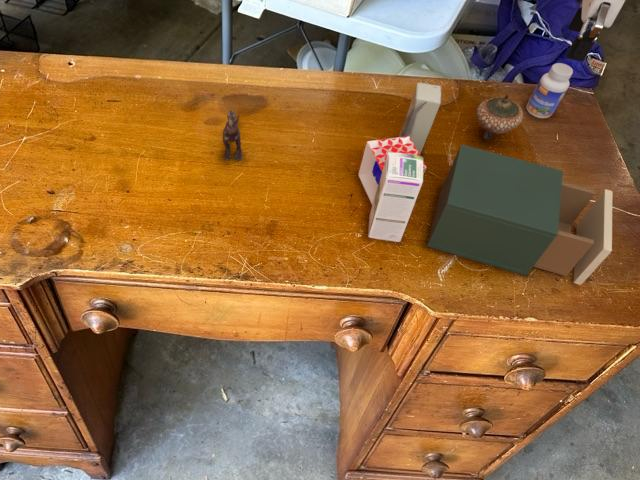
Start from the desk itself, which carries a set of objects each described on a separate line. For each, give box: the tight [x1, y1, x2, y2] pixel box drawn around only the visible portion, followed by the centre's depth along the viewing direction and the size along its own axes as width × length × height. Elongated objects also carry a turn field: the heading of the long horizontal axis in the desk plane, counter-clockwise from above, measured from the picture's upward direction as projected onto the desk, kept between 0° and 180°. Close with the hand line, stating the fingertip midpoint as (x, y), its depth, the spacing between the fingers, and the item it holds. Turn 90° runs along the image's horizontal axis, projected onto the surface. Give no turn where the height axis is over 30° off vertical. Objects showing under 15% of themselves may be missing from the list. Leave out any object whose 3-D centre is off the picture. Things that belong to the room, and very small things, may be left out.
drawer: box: [533, 181, 613, 286], centre depth 93 cm, size 17×13×9 cm
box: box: [398, 82, 442, 155], centre depth 105 cm, size 5×4×13 cm
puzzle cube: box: [357, 136, 427, 205], centre depth 101 cm, size 8×8×8 cm
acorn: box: [476, 94, 524, 139], centre depth 109 cm, size 8×8×10 cm
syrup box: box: [367, 152, 424, 243], centre depth 93 cm, size 6×6×14 cm
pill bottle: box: [525, 62, 574, 119], centre depth 114 cm, size 5×5×10 cm
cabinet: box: [426, 144, 564, 277], centre depth 95 cm, size 17×15×11 cm
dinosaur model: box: [222, 110, 243, 161], centre depth 105 cm, size 4×12×15 cm
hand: (575, 44), depth 106 cm, fingers open, 9 cm apart
